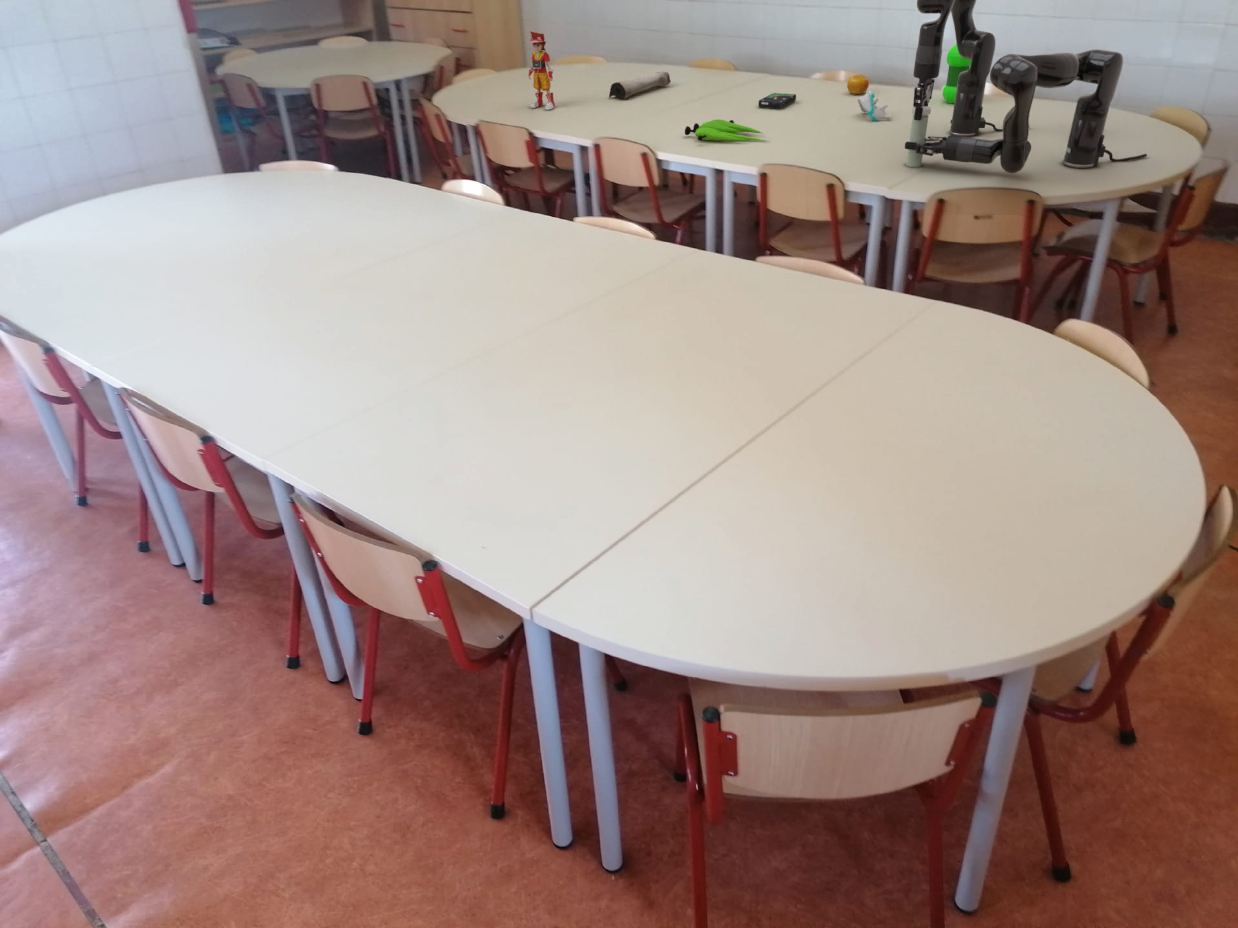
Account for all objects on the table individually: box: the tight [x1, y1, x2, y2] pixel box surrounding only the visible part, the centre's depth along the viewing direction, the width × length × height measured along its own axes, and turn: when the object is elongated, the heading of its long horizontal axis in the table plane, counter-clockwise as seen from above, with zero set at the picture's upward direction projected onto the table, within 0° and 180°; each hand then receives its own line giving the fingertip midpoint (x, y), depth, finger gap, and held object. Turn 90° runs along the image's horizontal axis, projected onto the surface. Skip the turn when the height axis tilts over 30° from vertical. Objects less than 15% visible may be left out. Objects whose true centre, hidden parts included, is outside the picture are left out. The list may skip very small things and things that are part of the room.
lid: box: [911, 105, 932, 116], centre depth 282 cm, size 6×6×2 cm
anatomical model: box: [857, 89, 892, 122], centre depth 341 cm, size 15×10×10 cm
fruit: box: [846, 74, 870, 95], centre depth 372 cm, size 8×8×8 cm
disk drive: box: [758, 92, 797, 110], centre depth 365 cm, size 10×3×15 cm
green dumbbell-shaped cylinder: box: [942, 43, 972, 104], centre depth 348 cm, size 10×10×25 cm
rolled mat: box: [608, 71, 672, 101], centre depth 395 cm, size 30×9×10 cm
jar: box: [905, 114, 930, 168], centre depth 287 cm, size 5×5×17 cm
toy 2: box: [684, 119, 767, 142], centre depth 329 cm, size 28×5×30 cm
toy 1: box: [527, 31, 556, 111], centre depth 374 cm, size 12×9×30 cm
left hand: (920, 117), depth 284 cm, fingers closed on lid, 5 cm apart
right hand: (908, 143), depth 290 cm, fingers closed on jar, 4 cm apart
